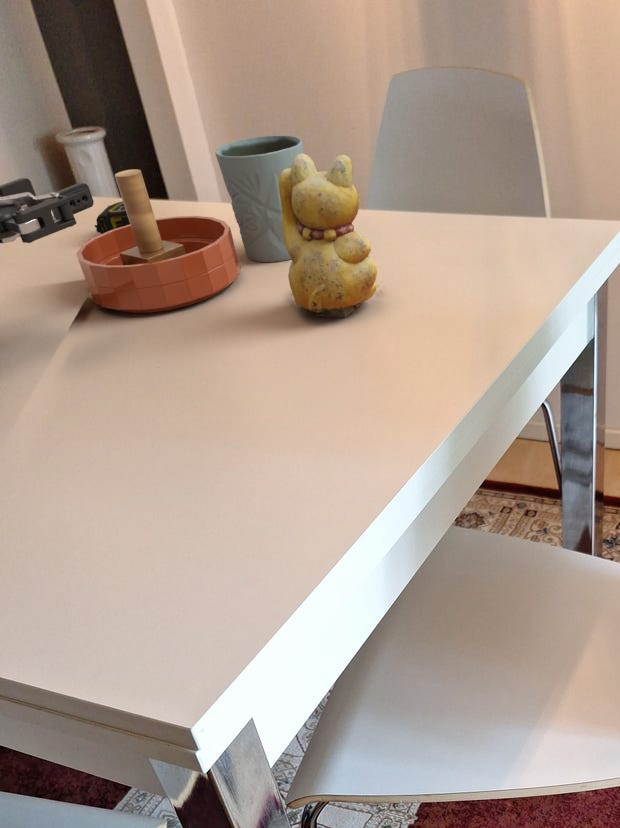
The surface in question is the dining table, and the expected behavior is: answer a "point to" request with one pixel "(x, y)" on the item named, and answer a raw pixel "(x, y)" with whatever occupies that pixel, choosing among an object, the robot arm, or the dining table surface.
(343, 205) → the decorative figurine
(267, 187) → the grey-blue cup
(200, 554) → the dining table surface
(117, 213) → the tape measure
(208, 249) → the bowl
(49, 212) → the robot arm
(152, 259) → the wooden rod on block
